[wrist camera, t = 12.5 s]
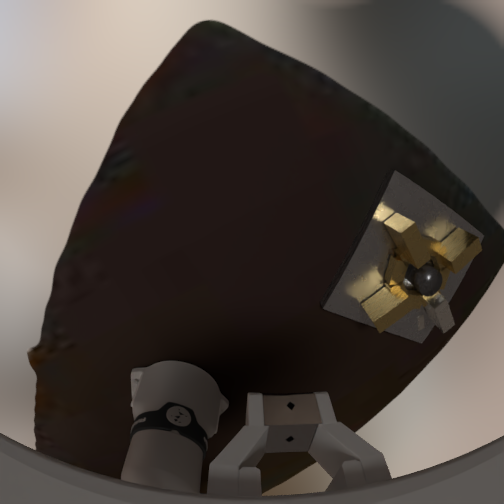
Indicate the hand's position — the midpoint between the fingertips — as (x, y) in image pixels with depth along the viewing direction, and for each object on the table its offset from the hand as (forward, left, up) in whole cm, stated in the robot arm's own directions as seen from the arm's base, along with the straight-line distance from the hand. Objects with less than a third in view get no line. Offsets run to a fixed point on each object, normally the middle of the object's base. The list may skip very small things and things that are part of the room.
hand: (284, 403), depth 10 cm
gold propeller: (+3, -25, -29) cm, 38 cm away
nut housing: (+3, -25, -31) cm, 40 cm away
